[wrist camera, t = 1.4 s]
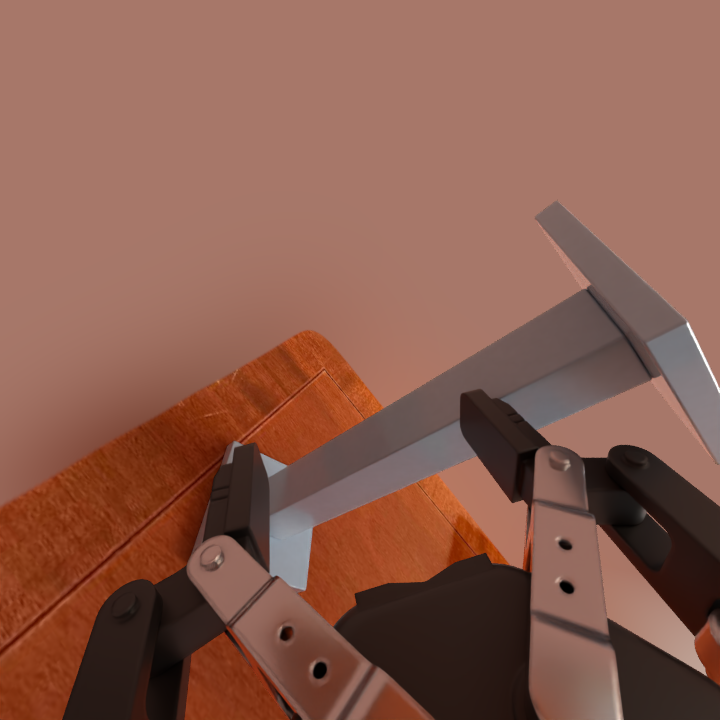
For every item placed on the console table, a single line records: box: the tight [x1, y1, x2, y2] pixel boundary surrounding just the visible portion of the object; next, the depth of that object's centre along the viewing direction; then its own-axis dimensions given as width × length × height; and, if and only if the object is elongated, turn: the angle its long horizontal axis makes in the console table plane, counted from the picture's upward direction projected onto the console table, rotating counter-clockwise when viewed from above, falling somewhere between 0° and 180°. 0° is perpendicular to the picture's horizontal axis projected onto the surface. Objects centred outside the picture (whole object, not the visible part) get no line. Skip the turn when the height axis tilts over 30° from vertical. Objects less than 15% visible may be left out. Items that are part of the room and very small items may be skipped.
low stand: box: [191, 201, 720, 593], centre depth 19 cm, size 8×8×25 cm
